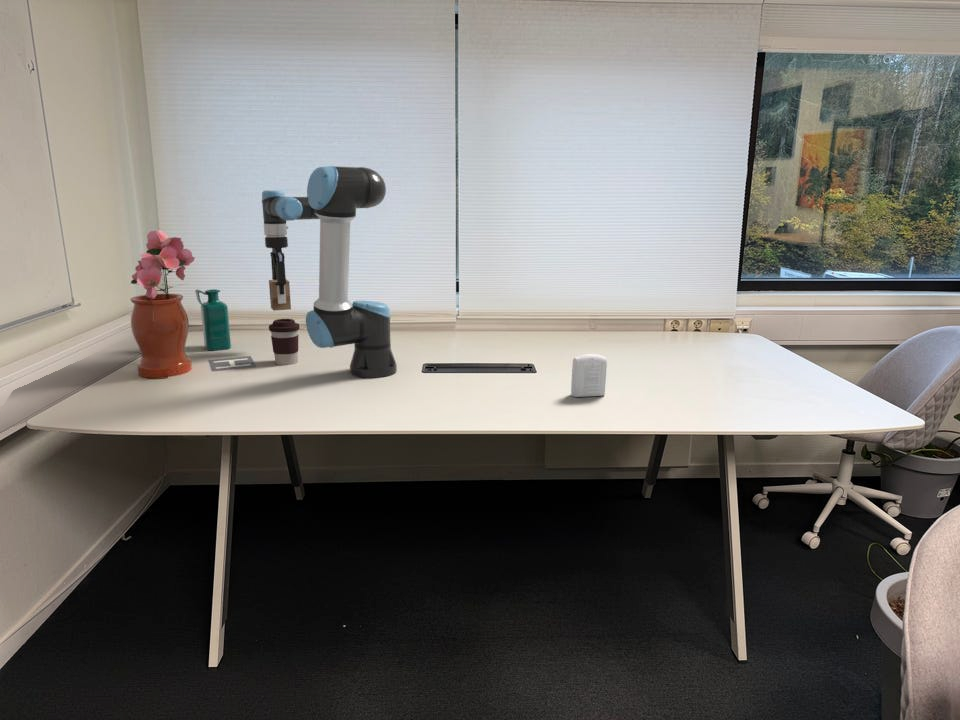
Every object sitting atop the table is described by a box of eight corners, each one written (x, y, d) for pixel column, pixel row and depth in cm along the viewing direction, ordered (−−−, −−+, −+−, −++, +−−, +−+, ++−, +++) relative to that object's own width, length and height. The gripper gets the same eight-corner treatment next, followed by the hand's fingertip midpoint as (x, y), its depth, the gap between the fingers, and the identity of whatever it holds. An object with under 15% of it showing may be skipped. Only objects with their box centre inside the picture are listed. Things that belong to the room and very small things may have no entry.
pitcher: (227, 344, 253) (222, 287, 248) (232, 349, 246) (226, 290, 241) (200, 347, 248) (194, 288, 243) (204, 352, 241) (198, 292, 236)
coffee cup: (265, 365, 224) (262, 322, 220) (282, 358, 233) (279, 316, 229) (291, 368, 221) (288, 324, 217) (307, 361, 230) (304, 318, 226)
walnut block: (291, 309, 236) (289, 281, 233) (273, 310, 233) (271, 282, 231) (287, 306, 241) (286, 279, 239) (270, 307, 239) (268, 280, 236)
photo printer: (601, 392, 198) (603, 351, 195) (607, 396, 194) (609, 355, 191) (568, 394, 196) (570, 353, 193) (573, 398, 192) (575, 357, 189)
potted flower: (210, 360, 230) (198, 228, 218) (189, 381, 205) (173, 233, 194) (153, 361, 227) (137, 228, 216) (125, 382, 203) (105, 233, 192)
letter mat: (257, 368, 221) (256, 366, 221) (212, 372, 215) (211, 371, 215) (250, 357, 235) (250, 355, 235) (208, 361, 229) (208, 359, 229)
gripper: (292, 237, 224) (296, 305, 230) (282, 234, 241) (286, 297, 247) (269, 238, 221) (274, 306, 227) (260, 234, 238) (265, 298, 243)
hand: (280, 301), depth 237 cm, fingers closed on walnut block, 6 cm apart
